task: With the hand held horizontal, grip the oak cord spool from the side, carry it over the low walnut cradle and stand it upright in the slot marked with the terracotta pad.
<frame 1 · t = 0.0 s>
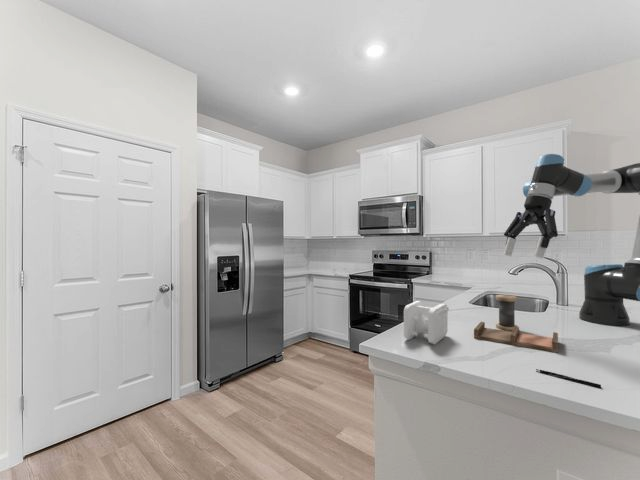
hand: (521, 256, 105), 28 cm above the worktop, tool tilted 20°, fingers open, 13 cm apart
black pen: (566, 381, 73), on the worktop
cord spool: (506, 328, 115), on the worktop
slot cradle: (515, 340, 102), on the worktop
cable organizer: (426, 339, 104), on the worktop
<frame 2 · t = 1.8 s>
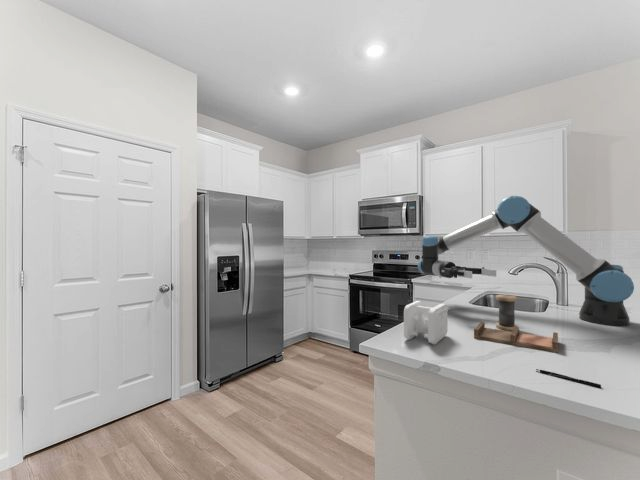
hand: (483, 274, 124), 20 cm above the worktop, tool horizontal, fingers open, 13 cm apart
nothing on the worktop moved.
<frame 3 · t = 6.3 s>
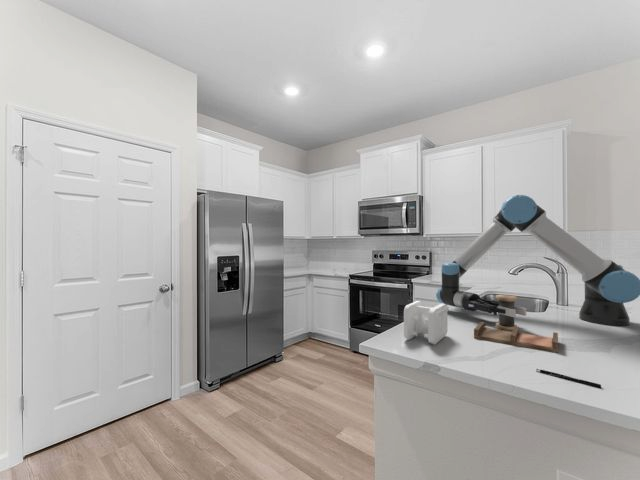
hand: (520, 312, 111), 7 cm above the worktop, tool horizontal, fingers closed on cord spool, 5 cm apart
cord spool: (506, 328, 115), on the worktop, touching gripper
everything else where it was.
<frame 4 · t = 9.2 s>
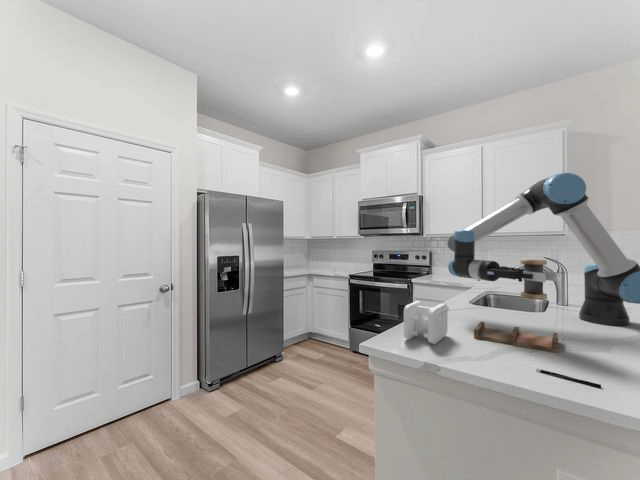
hand: (550, 277, 94), 22 cm above the worktop, tool horizontal, fingers closed on cord spool, 5 cm apart
cord spool: (533, 297, 99), point 15 cm above the worktop, touching gripper
everything else where it was.
when the fingers open (10 cm above the worktop, at t = 12.4 s): cord spool drops 1 cm, resting on slot cradle.
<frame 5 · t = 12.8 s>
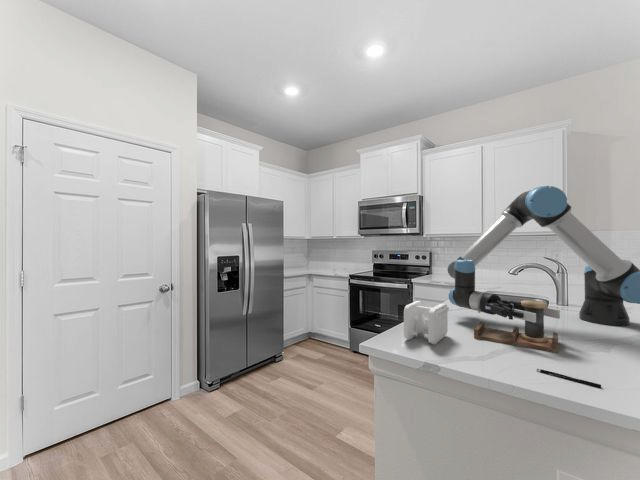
hand: (547, 316, 95), 10 cm above the worktop, tool horizontal, fingers open, 11 cm apart
cord spool: (534, 339, 99), point 1 cm above the worktop, touching slot cradle
everything else where it was.
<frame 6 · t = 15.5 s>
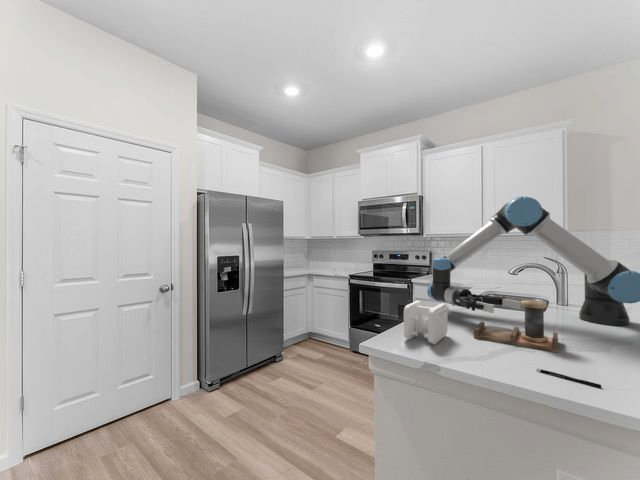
hand: (506, 307, 107), 10 cm above the worktop, tool horizontal, fingers open, 13 cm apart
nothing on the worktop moved.
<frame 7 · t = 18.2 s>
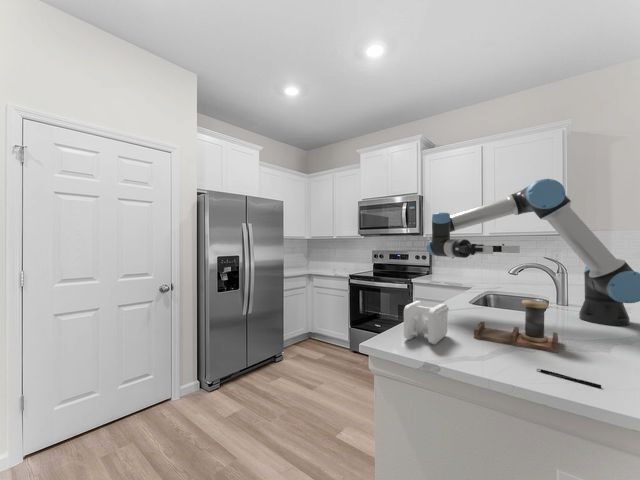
hand: (506, 249, 108), 30 cm above the worktop, tool horizontal, fingers open, 13 cm apart
nothing on the worktop moved.
at the end: cord spool inside the target area on the slot cradle (0.0 cm from its centre), point 1.3 cm above the slot cradle's base; cord spool tilted 1°; the gripper is holding nothing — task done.
